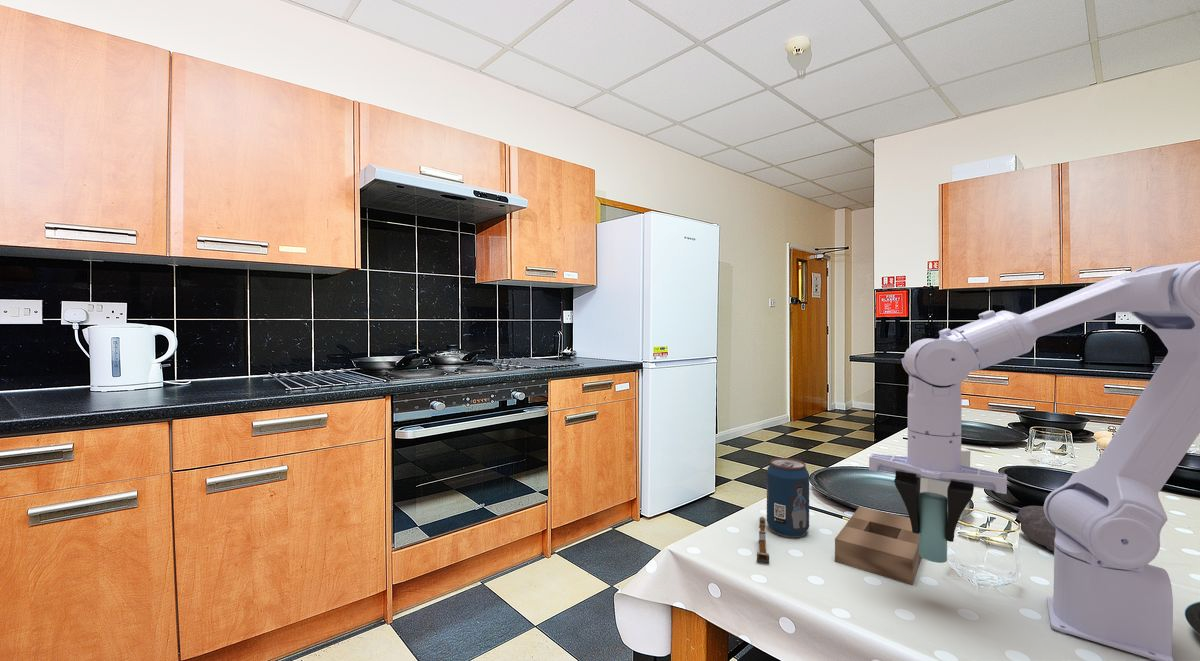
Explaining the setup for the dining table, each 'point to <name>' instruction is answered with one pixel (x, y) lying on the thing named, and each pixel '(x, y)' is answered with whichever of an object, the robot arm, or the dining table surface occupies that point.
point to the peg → (933, 527)
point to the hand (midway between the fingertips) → (932, 534)
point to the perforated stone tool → (1037, 526)
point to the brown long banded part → (762, 542)
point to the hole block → (879, 544)
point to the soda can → (788, 497)
